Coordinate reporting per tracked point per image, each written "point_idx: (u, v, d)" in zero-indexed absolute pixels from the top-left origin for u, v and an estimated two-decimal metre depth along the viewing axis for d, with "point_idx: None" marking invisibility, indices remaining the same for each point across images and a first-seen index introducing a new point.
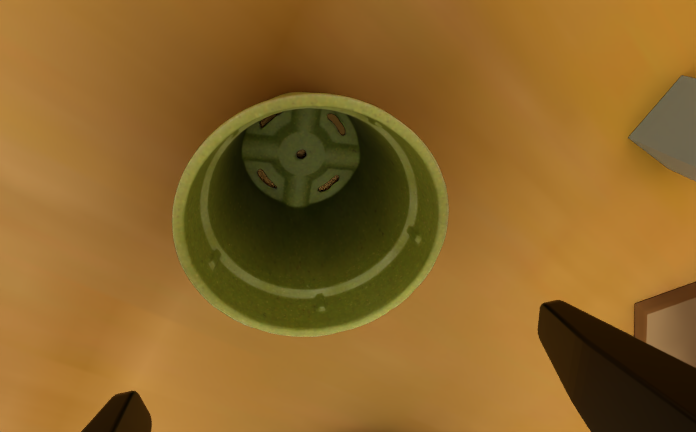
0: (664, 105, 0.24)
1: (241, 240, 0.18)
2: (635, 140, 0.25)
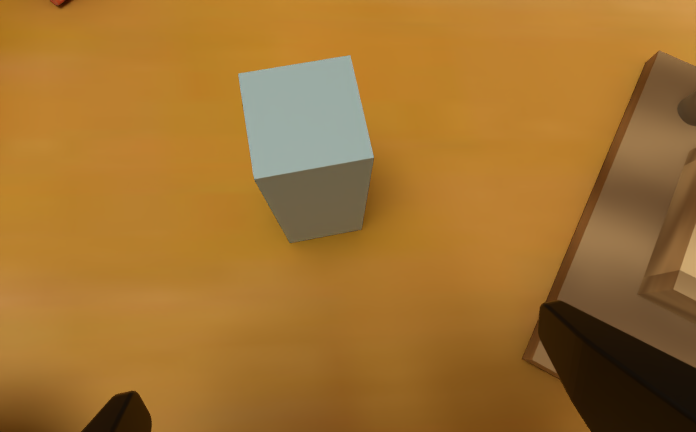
0: None
1: None
2: (289, 240, 0.23)
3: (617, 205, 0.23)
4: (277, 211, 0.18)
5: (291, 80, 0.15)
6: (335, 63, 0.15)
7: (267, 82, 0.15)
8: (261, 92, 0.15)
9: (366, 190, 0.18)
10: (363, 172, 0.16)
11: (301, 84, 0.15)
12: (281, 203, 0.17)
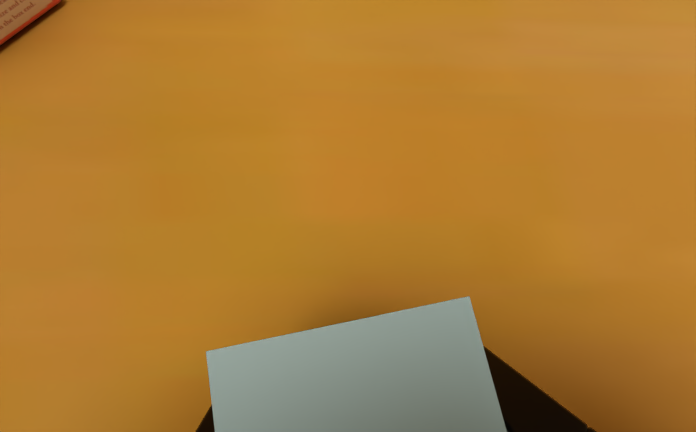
0: None
1: None
2: None
3: None
4: None
5: (332, 368, 0.06)
6: (436, 320, 0.07)
7: (276, 375, 0.06)
8: (262, 405, 0.06)
9: None
10: None
11: (358, 380, 0.06)
12: None
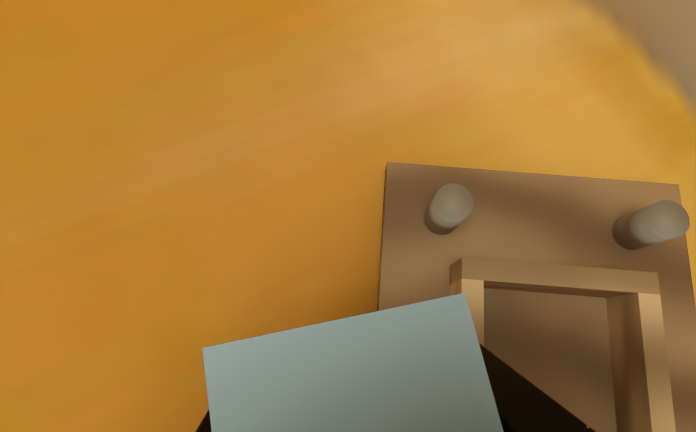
0: None
1: None
2: None
3: None
4: None
5: (328, 365, 0.06)
6: (433, 315, 0.07)
7: (272, 372, 0.06)
8: (258, 401, 0.06)
9: None
10: None
11: (354, 376, 0.06)
12: None
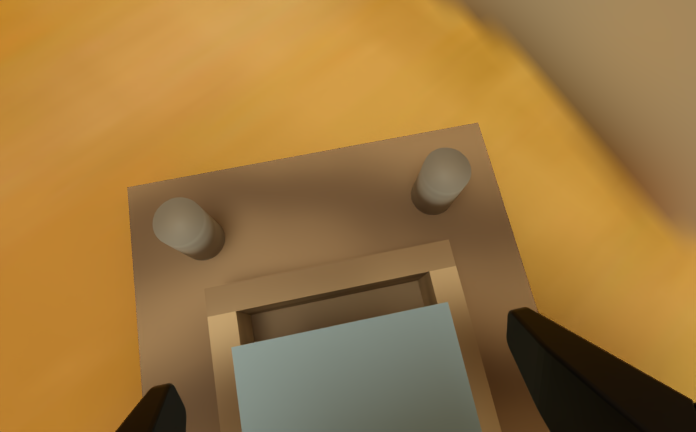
0: None
1: None
2: None
3: None
4: None
5: (335, 361, 0.08)
6: (421, 321, 0.08)
7: (289, 367, 0.08)
8: (277, 391, 0.08)
9: None
10: None
11: (356, 370, 0.08)
12: None
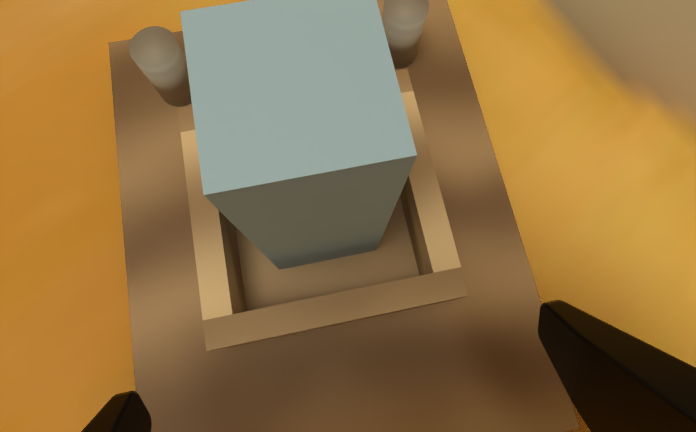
0: None
1: None
2: (278, 266, 0.17)
3: (151, 259, 0.18)
4: (255, 238, 0.12)
5: (271, 22, 0.09)
6: None
7: (230, 26, 0.09)
8: (219, 42, 0.09)
9: (393, 205, 0.11)
10: (394, 179, 0.09)
11: (288, 29, 0.09)
12: (260, 228, 0.11)
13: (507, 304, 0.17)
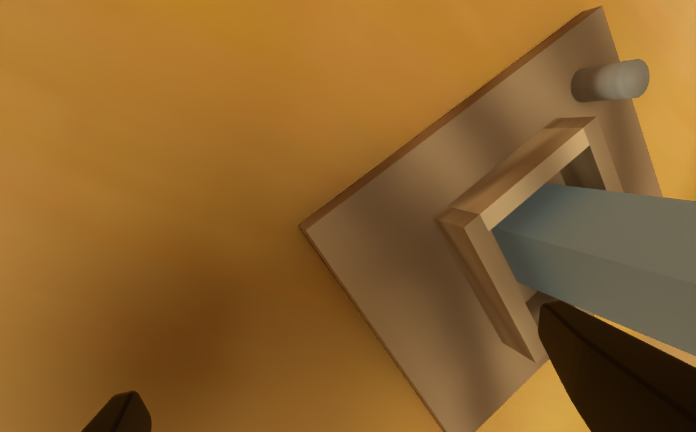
0: (525, 202, 0.23)
1: None
2: (496, 228, 0.23)
3: (470, 130, 0.22)
4: (592, 258, 0.18)
5: None
6: None
7: None
8: None
9: (632, 329, 0.18)
10: (686, 347, 0.16)
11: None
12: (615, 270, 0.17)
13: (509, 374, 0.25)
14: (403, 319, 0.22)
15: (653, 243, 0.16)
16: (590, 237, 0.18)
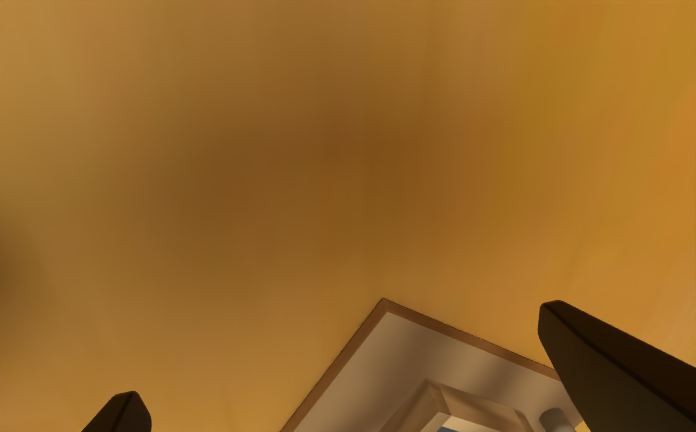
0: None
1: None
2: None
3: (495, 369, 0.29)
4: None
5: None
6: None
7: None
8: None
9: None
10: None
11: None
12: None
13: None
14: (345, 396, 0.28)
15: None
16: None
